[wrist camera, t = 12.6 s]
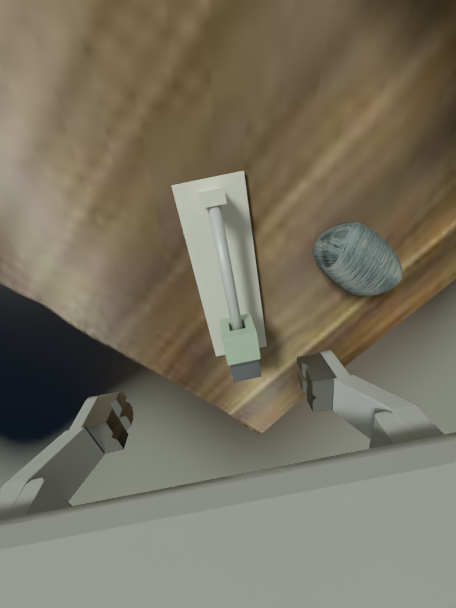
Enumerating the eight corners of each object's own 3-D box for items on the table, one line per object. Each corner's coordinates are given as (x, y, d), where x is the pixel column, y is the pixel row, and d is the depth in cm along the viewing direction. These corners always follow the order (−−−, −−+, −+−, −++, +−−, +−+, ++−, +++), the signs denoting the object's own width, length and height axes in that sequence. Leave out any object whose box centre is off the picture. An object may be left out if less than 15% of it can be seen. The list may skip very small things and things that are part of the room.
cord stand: (242, 171, 32) (256, 165, 24) (265, 343, 46) (279, 378, 37) (172, 185, 32) (160, 184, 24) (216, 353, 46) (218, 390, 37)
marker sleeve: (250, 313, 38) (256, 331, 33) (254, 338, 40) (260, 358, 35) (219, 319, 38) (221, 338, 33) (225, 343, 40) (228, 365, 35)
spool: (293, 263, 35) (359, 266, 27) (319, 210, 36) (390, 198, 28) (333, 302, 43) (394, 314, 35) (354, 258, 44) (418, 259, 36)
